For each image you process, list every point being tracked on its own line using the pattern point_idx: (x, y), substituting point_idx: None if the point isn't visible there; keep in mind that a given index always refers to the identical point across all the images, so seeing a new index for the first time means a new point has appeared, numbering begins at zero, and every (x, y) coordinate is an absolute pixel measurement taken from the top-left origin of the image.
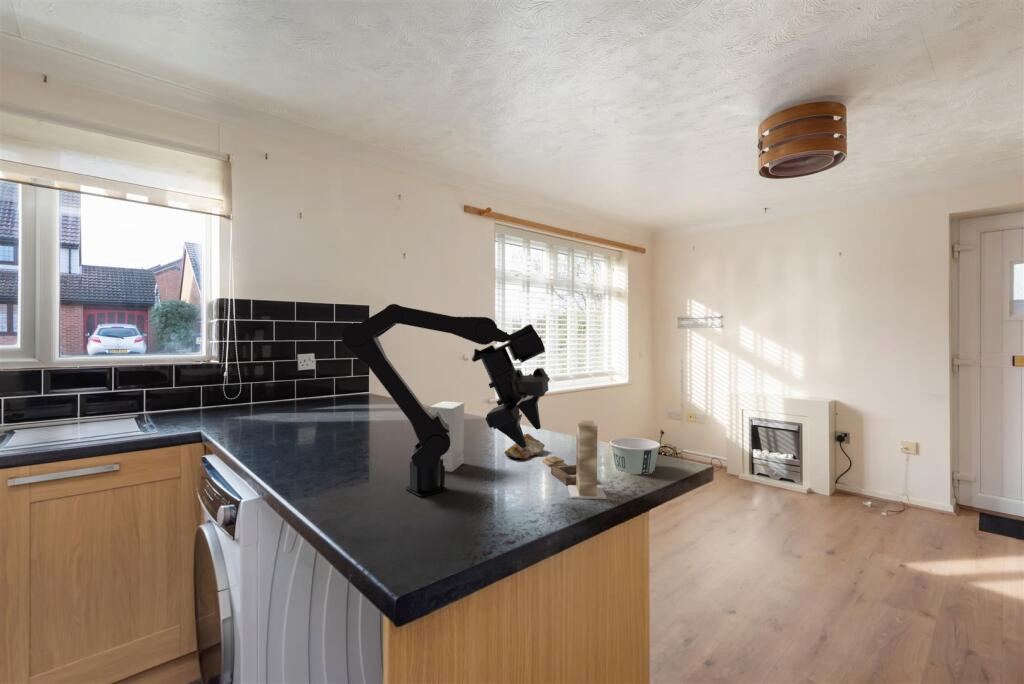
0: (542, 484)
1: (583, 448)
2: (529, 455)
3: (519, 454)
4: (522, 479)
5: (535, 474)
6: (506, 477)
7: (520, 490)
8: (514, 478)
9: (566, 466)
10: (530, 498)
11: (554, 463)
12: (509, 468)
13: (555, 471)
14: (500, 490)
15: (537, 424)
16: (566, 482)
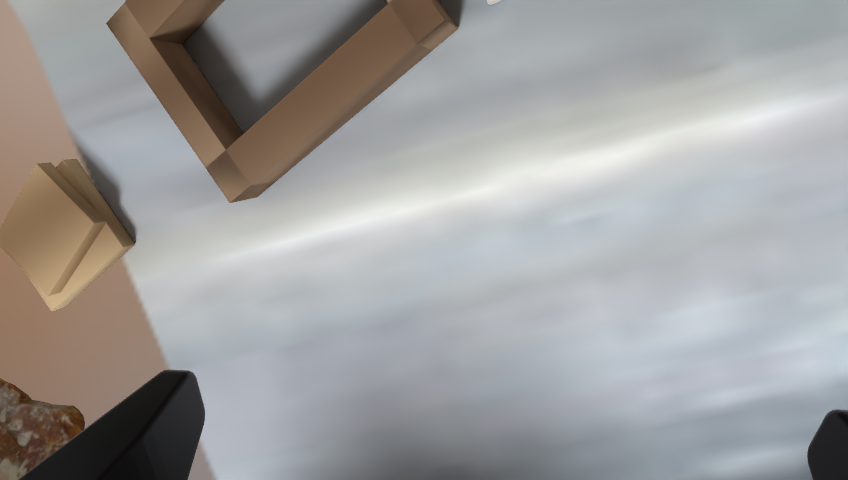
0: (493, 194)
1: None
2: (24, 401)
3: None
4: (438, 347)
5: (310, 289)
6: (436, 452)
7: (674, 307)
8: (437, 400)
9: (182, 99)
10: (837, 197)
11: (100, 216)
12: (262, 468)
13: (294, 152)
14: (718, 436)
15: (164, 441)
16: (451, 22)
